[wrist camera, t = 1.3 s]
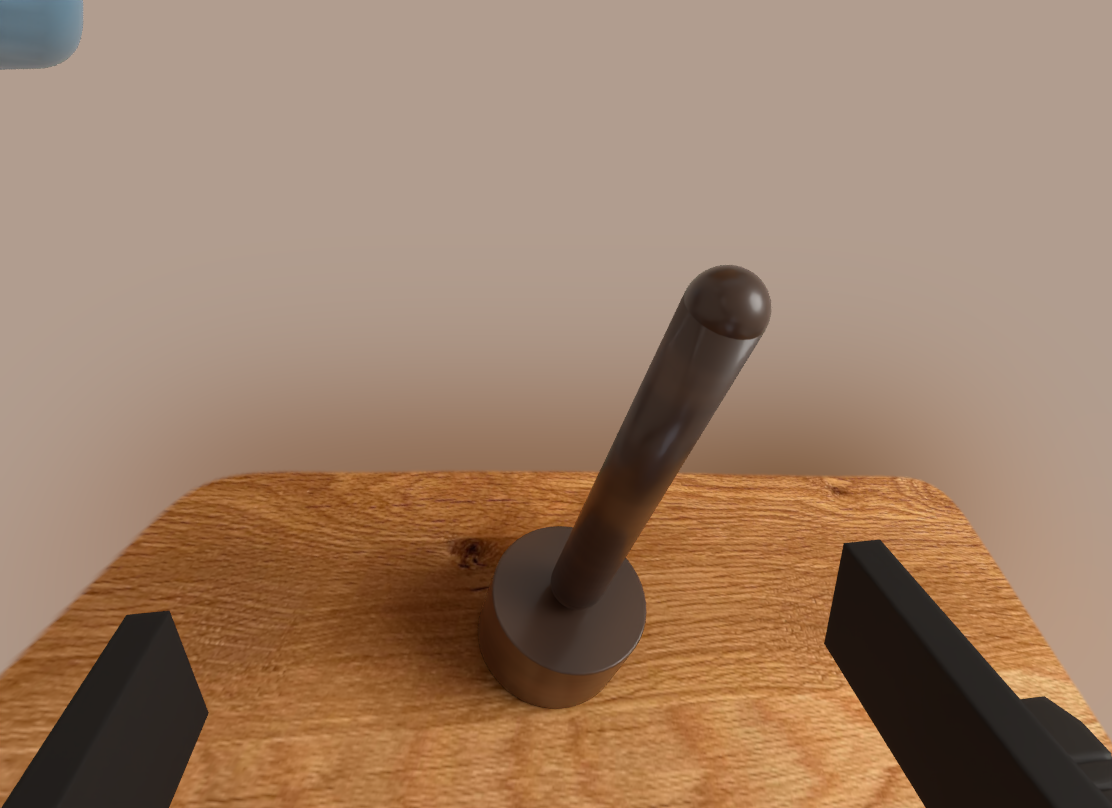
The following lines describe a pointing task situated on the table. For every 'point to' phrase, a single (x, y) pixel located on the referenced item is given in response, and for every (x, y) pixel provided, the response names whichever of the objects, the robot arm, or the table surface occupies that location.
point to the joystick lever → (618, 509)
